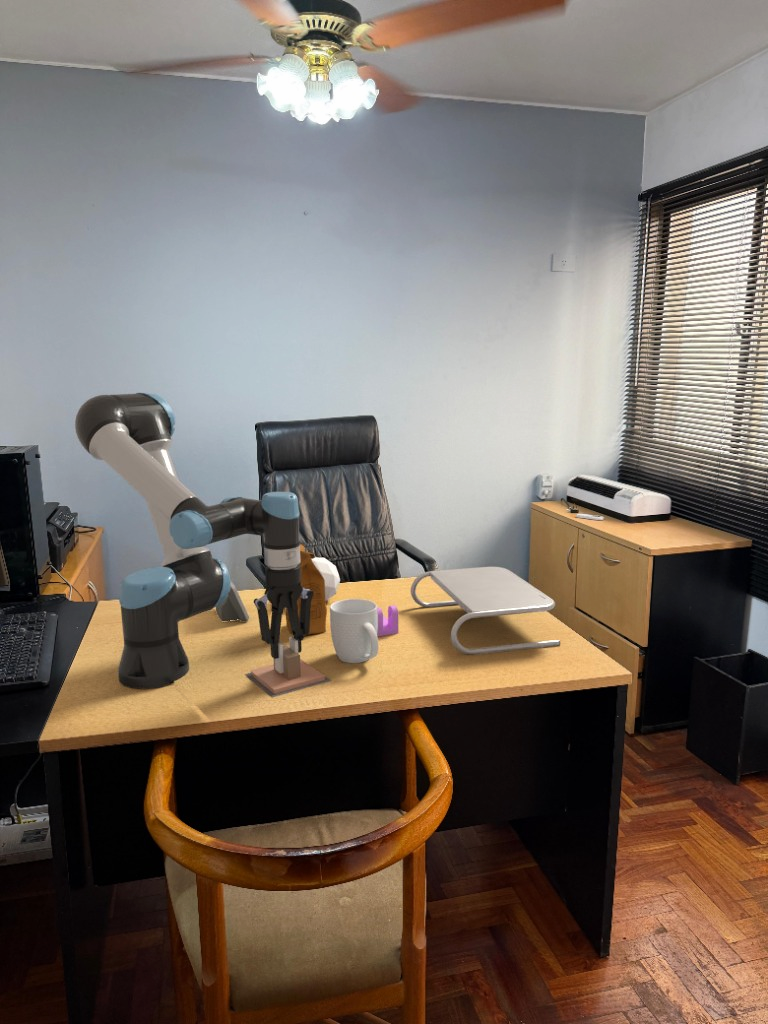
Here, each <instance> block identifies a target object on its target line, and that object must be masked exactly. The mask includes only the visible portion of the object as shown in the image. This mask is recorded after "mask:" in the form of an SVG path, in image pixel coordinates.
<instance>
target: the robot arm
mask: <svg viewBox="0 0 768 1024" xmlns="http://www.w3.org/2000/svg"><path fill="white" fill-rule="evenodd" d="M174 425H175V426H176V418H175V413H174V411H173V408H172V407H171V405H170V404H169V403H168V401H166V399H165V398H163V397H161V396H159V395H157V394H155V393H146V392H136V393H124V394H123V393H122V394H121V393H120V394H119V393H118V394H100V395H95V396H93V397H91V398H89V399H87V400H85V402H84V403H83V404H82V405H81V406H80V408H79V409H78V410H77V413H76V417H75V421H74V428H75V433H76V437H77V439H78V441H79V442H80V445H81V446H82V448H83V449H85V450H86V452H88V454H89V455H91V456H92V457H93V458H94V459H96V460H98V461H104V462H105V463H106V464H107V465H108V466H109V467H111V468H112V470H114V471H115V472H116V473H117V474H118V476H120V477H121V478H122V479H123V480H124V481H125V482H126V483H128V485H130V487H131V488H133V489H134V491H136V492H137V493H138V494H139V495H140V496H141V497H143V498H144V499H145V501H146V505H147V507H148V511H149V514H150V517H151V520H152V522H153V525H154V528H155V531H156V533H157V538H158V540H159V542H160V545H161V548H162V551H163V553H164V559H163V562H162V563H161V566H152V567H150V568H143V569H139V570H136V571H134V572H132V573H130V574H127V576H125V577H124V578H123V579H122V581H121V582H120V585H119V599H118V601H119V605H120V610H121V612H120V613H121V623H122V637H123V649H122V653H121V655H120V656H121V657H120V661H119V665H118V668H117V677H118V682H119V683H120V685H123V686H125V687H128V688H131V689H132V688H133V689H154V688H161V687H164V686H168V685H171V684H174V683H175V681H178V680H180V679H181V678H183V677H185V676H186V675H187V674H188V672H189V671H190V661H189V659H188V656H187V654H186V651H185V649H184V646H183V644H182V642H181V640H180V635H179V622H181V621H183V620H186V619H188V618H189V619H190V618H192V617H194V616H197V615H200V614H203V613H205V612H209V611H212V610H213V609H214V608H216V607H217V606H219V605H220V604H222V603H223V602H224V601H225V600H226V598H227V596H228V593H229V591H230V584H231V583H230V580H231V576H230V572H229V570H228V567H227V566H226V564H225V563H224V562H222V560H220V559H219V558H216V557H213V556H212V552H211V550H210V548H207V547H205V546H207V545H210V544H213V543H218V542H220V541H224V540H228V539H233V538H236V537H239V536H243V535H253V536H262V538H263V547H264V548H263V551H264V552H263V553H264V555H263V556H264V565H265V566H266V567H265V568H264V575H265V578H264V579H265V586H266V587H265V591H264V595H262V596H260V598H254V599H253V603H254V606H255V608H256V609H257V617H258V623H259V630H260V638H261V640H262V642H264V643H266V644H267V645H270V656H271V658H272V659H273V658H274V659H275V670H276V671H278V672H279V673H280V674H281V673H284V669H283V643H281V642H280V641H281V640H280V637H281V629H282V618H283V614H284V609H286V608H287V610H288V615H289V620H290V625H291V631H292V634H291V635H292V636H290V637H289V638H288V643H289V646H288V647H289V648H290V649H292V650H293V651H295V652H296V653H298V654H300V653H302V649H303V648H302V641H303V640H304V637H305V636H304V635H306V636H309V635H310V634H309V629H310V609H311V600H312V597H313V594H314V592H313V591H311V590H309V589H307V588H306V589H304V588H303V587H302V585H301V566H300V565H299V563H300V544H301V541H300V509H299V500H298V499H299V498H298V496H297V495H296V494H295V493H294V492H292V491H271V492H266V493H265V494H263V495H262V497H261V499H253V498H245V497H242V496H237V497H232V496H231V497H229V496H228V497H225V498H224V499H222V501H220V503H218V504H214V505H206V503H204V502H203V501H202V500H201V499H200V498H198V497H197V495H196V494H194V493H193V492H192V491H191V490H190V489H189V488H187V486H185V485H184V484H183V483H182V482H181V481H180V480H179V478H178V473H177V472H176V468H175V465H174V463H173V460H172V457H171V454H170V451H169V450H170V448H171V445H172V444H173V440H172V436H173V434H174V432H175V430H176V428H175V426H174ZM300 595H301V605H300V621H299V616H298V605H297V600H298V598H299V597H300ZM268 602H269V603H270V605H271V607H270V609H271V617H270V618H271V619H270V620H269V614H268V612H269V611H268V609H267V607H268ZM308 634H309V635H308ZM274 659H273V660H274Z"/></svg>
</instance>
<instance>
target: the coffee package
mask: <svg viewBox="0 0 768 1024" xmlns="http://www.w3.org/2000/svg"><path fill="white" fill-rule="evenodd" d="M315 557H316V555H315V554H314V553H311V552H309V551H306V547H305V546H304V545H303V544H302V543H300V563H299V565H300V566H301V585H302V587H303V588H304V589H306V588H307V589H309V590H311V591H313V592H314V594H313V597H312V600H311V609H310V629H309V634H308V635H304V636H303V637H306V636H309V635H317V634H321V633H324V632H326V631H327V624H326V623H327V622H326V621H327V614H328V607H327V601H325V599H326V596H325V580H324V578H323V576H322V575H321V573H320V572H319V570H318V569H317V568H316V566H315V565H314V563H313V562H312V559H313V558H315ZM297 605H298V616H299V621H300V605H301V595H300V597H299V598H298V600H297ZM285 621H286V627H287V629H288V632H289V634H290V635H292V631H291V625H290V620H289V615H288V610H287V608H285Z"/></svg>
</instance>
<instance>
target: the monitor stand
mask: <svg viewBox="0 0 768 1024" xmlns="http://www.w3.org/2000/svg"><path fill="white" fill-rule="evenodd" d="M428 577H430V579H431V580H432V581H433V582H434V583H435V584H436V585H437V586H439V588H440V589H441V590H442V591H444V592H445V594H447V595H448V596H449V597H450V598H451V599H452V600H444V601H442V600H441V601H431V602H430V601H429V602H424V601H422V600H421V599H420V598H419V597H418V595H417V592H416V590H417V586H418V584H419V583H420V582H421V581H422V580H423V579H425V578H428ZM410 595H411V598H412V600H413V601H414V602H415V603H416V604H418V605H419V606H421V607H423V608H438V607H440V608H442V607H447V606H459V607H460V608H462V610H463V611H465V612H466V614H464V615H462V616H461V617H459V618H458V619H457V620H455V623H454V624H453V626H452V628H451V631H450V641H451V643H452V645H453V646H454V648H455V649H456V650H458V651H459V652H460V653H463V654H466V655H481V654H482V655H487V654H491V653H499V652H500V653H501V652H511V651H518V650H519V651H520V650H528V649H539V648H540V649H543V648H547V647H558V646H560V645H561V640H559V639H554V640H543V641H535V642H526V643H525V642H524V643H516V644H515V643H514V644H504V645H495V646H485V647H478V648H477V647H476V648H466V647H464V646H463V645H461V643H460V642H459V639H458V631H459V629H460V627H461V626H462V624H463V623H465V622H466V621H469V620H470V619H477V618H478V619H479V618H488V617H497V616H498V617H499V616H509V615H519V614H531V613H542V612H543V613H544V612H547V611H551V610H552V609H554V608H555V606H556V602H555V601H554V599H552V598H551V597H550V596H548V595H547V594H545V593H544V592H542V591H541V590H539V589H537V588H536V587H535V586H534V585H532V584H530V583H529V582H527V581H526V580H524V579H523V578H521V577H520V576H519V575H517V574H516V573H514V572H512V571H511V570H510V569H507V568H504V567H502V566H501V567H500V566H482V567H481V566H480V567H467V568H454V569H440V570H429V571H426V572H423V573H421V574H419V575H418V576H417V577H415V578H414V580H413V582H412V584H411V587H410Z"/></svg>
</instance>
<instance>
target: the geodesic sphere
mask: <svg viewBox="0 0 768 1024" xmlns="http://www.w3.org/2000/svg"><path fill="white" fill-rule="evenodd" d="M312 562H313V563H314V565H315V566H316V568H317V569H318V570H319V572H320V573H321V575H322V576H323V578H324V580H325V596H326V599H325V602H327V601H328V600H329V599H330V598H332V597H334V596H335V595H336V594H337V591H338V589H339V585H340V582H341V578H340V575H339V572H338V568H337V566H336V565H335V564H333V563H332V562H331V561H330V560H328V559H326V558H325V557H317V556H315V558H313V559H312Z"/></svg>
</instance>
